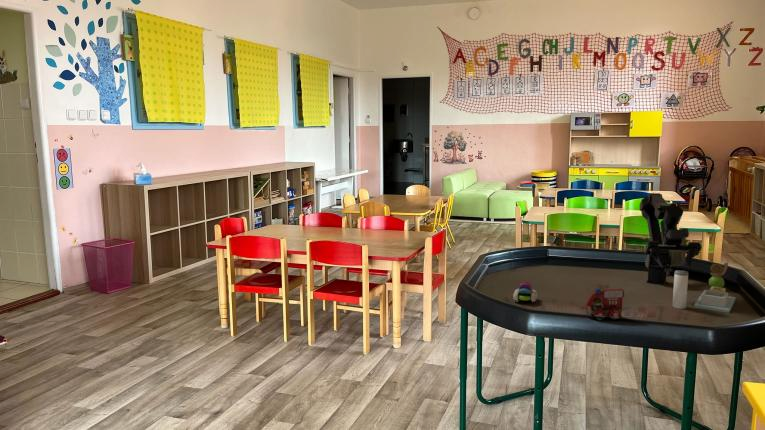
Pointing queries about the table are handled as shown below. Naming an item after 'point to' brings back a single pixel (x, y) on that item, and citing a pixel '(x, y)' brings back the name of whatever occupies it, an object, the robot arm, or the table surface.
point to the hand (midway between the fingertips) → (676, 267)
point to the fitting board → (715, 300)
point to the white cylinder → (680, 289)
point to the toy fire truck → (605, 302)
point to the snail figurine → (717, 275)
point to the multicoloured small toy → (525, 292)
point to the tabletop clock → (677, 256)
